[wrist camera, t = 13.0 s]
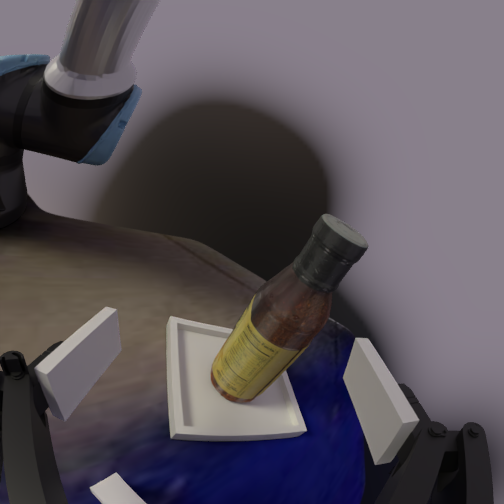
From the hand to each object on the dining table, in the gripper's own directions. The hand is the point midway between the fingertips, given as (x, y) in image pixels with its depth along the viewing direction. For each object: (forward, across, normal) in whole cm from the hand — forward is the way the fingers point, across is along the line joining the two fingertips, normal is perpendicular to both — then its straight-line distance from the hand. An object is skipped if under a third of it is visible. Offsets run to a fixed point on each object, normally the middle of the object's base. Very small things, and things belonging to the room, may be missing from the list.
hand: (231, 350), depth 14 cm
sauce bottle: (+11, 0, -12) cm, 16 cm away
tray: (+12, 0, -12) cm, 17 cm away
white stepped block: (-7, -5, -16) cm, 18 cm away
